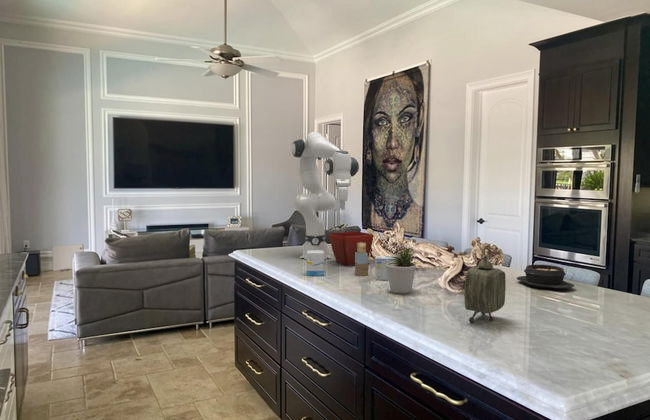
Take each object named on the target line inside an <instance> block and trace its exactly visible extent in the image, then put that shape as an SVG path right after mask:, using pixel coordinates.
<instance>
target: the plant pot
mask: <svg viewBox="0 0 650 420" xmlns="http://www.w3.org/2000/svg"><path fill="white" fill-rule="evenodd" d="M328 235H329V240H330V241H329V242H330V246H331V249H332V253H333V256H334V259H335V262H336V263H337V262H338V263H337V264H340V263H341V264H340V265H342V266H346V267H347V266H349V265H350V266H355V253H356V252H357V243H366V253H367V254H368V258H369V256H370V253H371V249H372V248H373V247H372V246H373V240H374V234H373V233H367V232H362V231H343V232H331V233H330V232H329V234H328Z"/></svg>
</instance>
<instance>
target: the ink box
mask: <svg viewBox="0 0 650 420" xmlns="http://www.w3.org/2000/svg"><path fill="white" fill-rule="evenodd" d="M324 272H325V259H324V251H322V250H311V251H307V259H306V276H307V277H324V275H325V274H324ZM312 275H313V276H312Z"/></svg>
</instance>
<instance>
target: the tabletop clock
mask: <svg viewBox="0 0 650 420" xmlns="http://www.w3.org/2000/svg"><path fill="white" fill-rule="evenodd" d="M486 250H487V252H488V253H487V255H484V256H483V254H484V252H485V251H486ZM480 253H481V254H480V255H481V256H480V257H481V261H479V263H478V264H477V266H473V267H470V268H469V269H468V270H467V271H466V272H465V277H464V291H463V292H464V294H463V295H464V296H463V297H464V308H465V310H467V311H474V312H473V315H472V316H471V317H469V318H468V321H469V322H470V323H473V322H474V318H475V316H476V315H478V314H479V313H480V314H481V315H483V316H484V315H486V314H488V316H489V317H488V321H490V322H493V321H494V317H493V316H492V314H491V313H495V312H498V311H499V310H500V309H502V308H503V307H504V306H505V303H506V289H507V288H506V287H507V286H506V284H507V283H506V281H507V280H506V279H507V278H506V272H504V271H503V270H501V269H500V268H497V267H494V266H493V263H492V262H491V261H489V257H490V255H491V254H490V253H491V250H490V248H489V247H483V248H482V250H481V252H480Z"/></svg>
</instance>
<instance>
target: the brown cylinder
mask: <svg viewBox="0 0 650 420" xmlns="http://www.w3.org/2000/svg"><path fill="white" fill-rule="evenodd" d="M357 253H358V254H366V243H357Z"/></svg>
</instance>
